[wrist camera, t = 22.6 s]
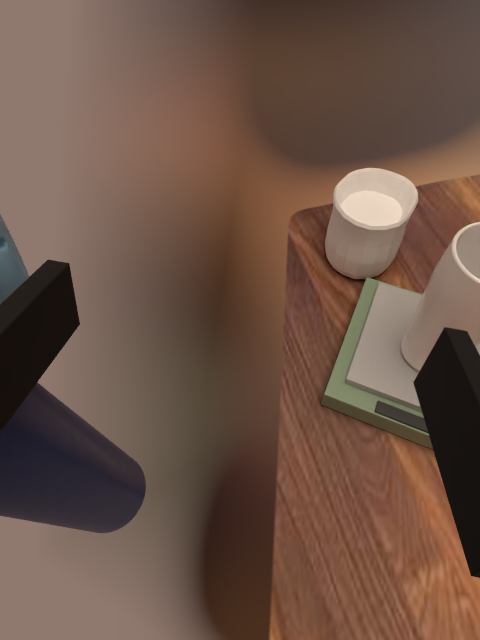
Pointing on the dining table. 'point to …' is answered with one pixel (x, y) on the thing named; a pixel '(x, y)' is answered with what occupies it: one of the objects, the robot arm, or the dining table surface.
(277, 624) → the dining table surface
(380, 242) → the cup
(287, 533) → the dining table surface
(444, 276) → the drinking glass
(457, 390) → the robot arm
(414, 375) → the scale
